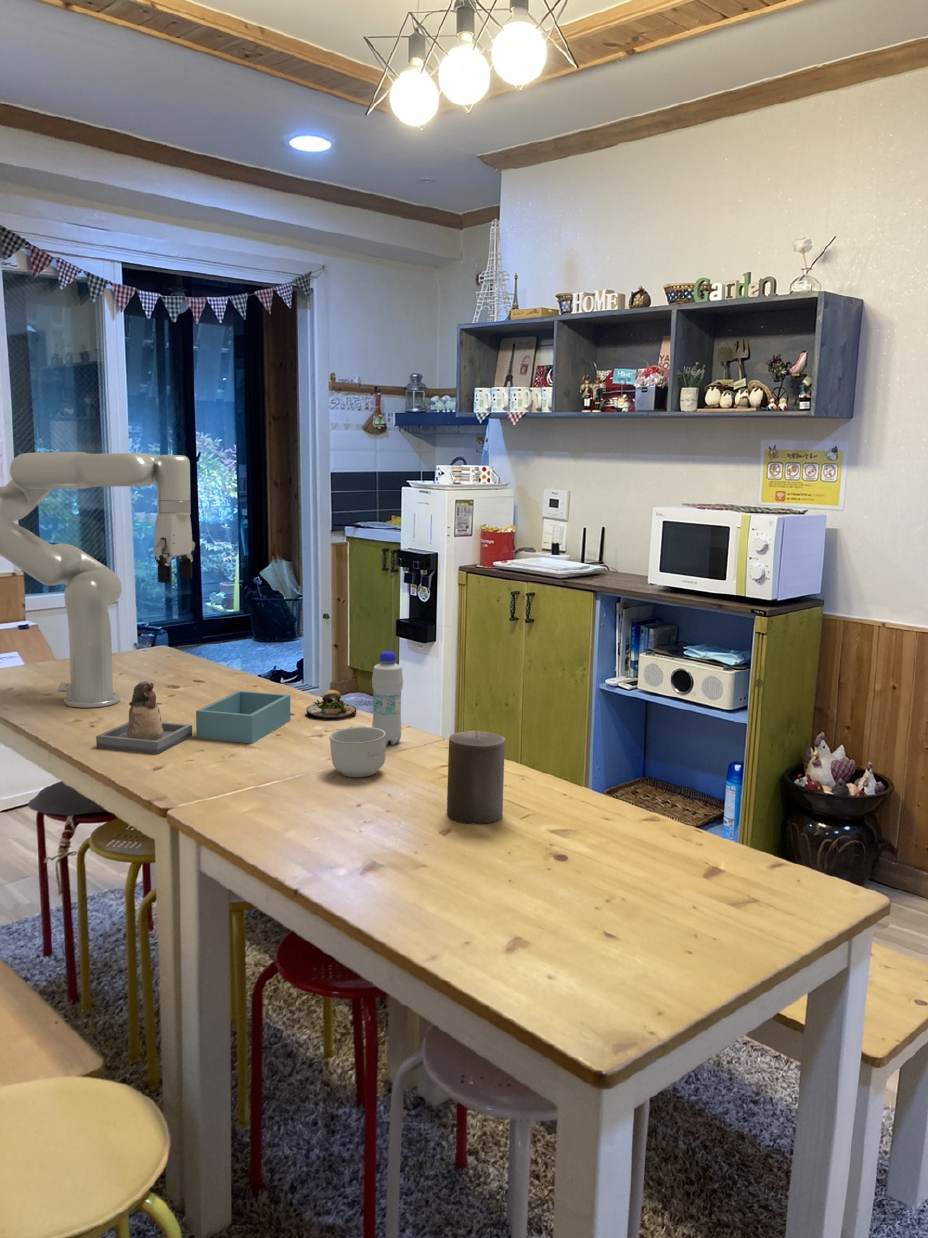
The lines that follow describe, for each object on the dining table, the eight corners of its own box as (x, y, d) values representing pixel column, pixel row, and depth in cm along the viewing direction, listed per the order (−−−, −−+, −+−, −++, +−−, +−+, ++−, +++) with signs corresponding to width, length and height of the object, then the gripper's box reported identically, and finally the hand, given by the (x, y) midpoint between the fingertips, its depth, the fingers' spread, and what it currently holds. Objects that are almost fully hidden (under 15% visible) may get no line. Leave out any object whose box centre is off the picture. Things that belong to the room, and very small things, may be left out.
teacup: (376, 784, 186) (376, 742, 185) (321, 778, 189) (321, 738, 187) (396, 762, 200) (396, 723, 199) (344, 757, 202) (344, 719, 201)
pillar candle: (455, 826, 166) (457, 739, 163) (440, 806, 175) (442, 724, 173) (510, 822, 168) (513, 737, 166) (493, 803, 178) (496, 722, 175)
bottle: (400, 747, 210) (402, 654, 207) (369, 746, 210) (370, 653, 207) (403, 738, 217) (405, 648, 214) (372, 737, 217) (373, 647, 214)
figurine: (150, 730, 214) (149, 676, 212) (169, 737, 210) (168, 681, 208) (120, 737, 209) (119, 681, 207) (140, 743, 204) (138, 686, 202)
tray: (96, 747, 204) (96, 736, 204) (134, 730, 217) (133, 719, 217) (158, 754, 201) (157, 742, 200) (192, 736, 214) (192, 725, 214)
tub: (196, 738, 213) (195, 710, 212) (238, 715, 232) (238, 690, 231) (252, 743, 210) (252, 716, 209) (290, 720, 229) (290, 695, 228)
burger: (298, 719, 231) (297, 688, 230) (317, 707, 243) (317, 677, 242) (346, 724, 229) (346, 692, 227) (363, 711, 240) (363, 681, 239)
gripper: (178, 506, 243) (179, 575, 246) (139, 509, 226) (141, 583, 229) (206, 507, 241) (207, 577, 244) (169, 510, 225) (170, 585, 227)
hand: (175, 580), depth 236 cm, fingers open, 9 cm apart
